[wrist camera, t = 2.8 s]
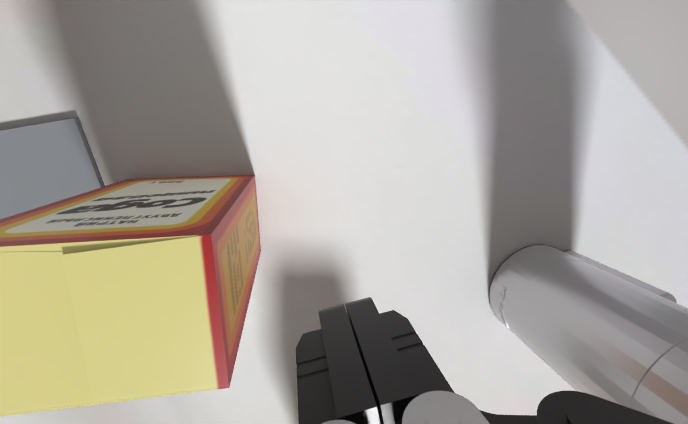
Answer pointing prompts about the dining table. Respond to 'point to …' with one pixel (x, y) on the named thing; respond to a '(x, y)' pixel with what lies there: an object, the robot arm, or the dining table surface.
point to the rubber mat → (44, 165)
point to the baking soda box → (126, 292)
